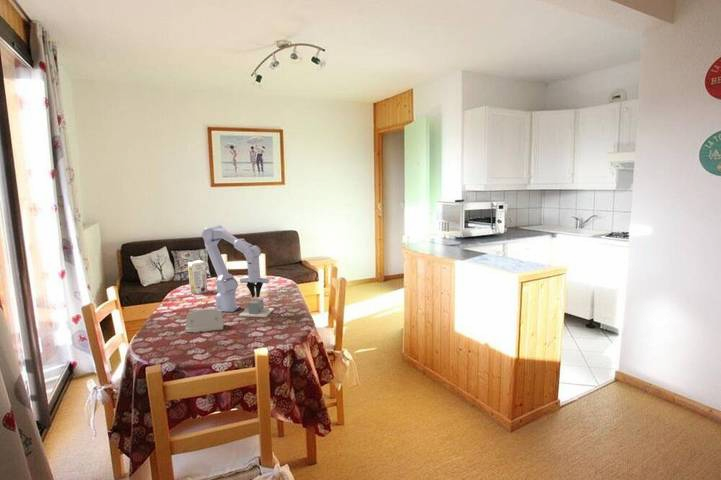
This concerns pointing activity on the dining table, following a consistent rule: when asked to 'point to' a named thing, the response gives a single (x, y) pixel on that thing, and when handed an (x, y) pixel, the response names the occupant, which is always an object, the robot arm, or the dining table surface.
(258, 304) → the module
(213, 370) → the dining table surface
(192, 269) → the juice carton
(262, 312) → the rail board
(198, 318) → the light grey flat block
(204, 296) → the dining table surface
